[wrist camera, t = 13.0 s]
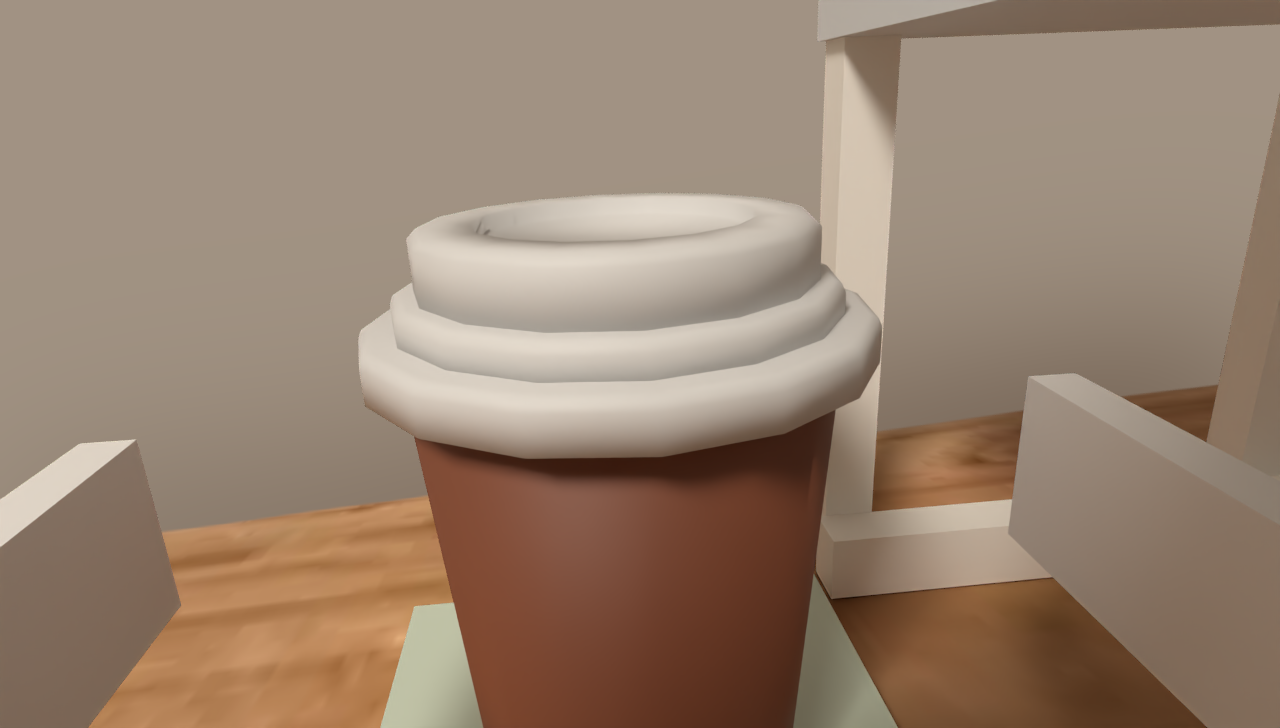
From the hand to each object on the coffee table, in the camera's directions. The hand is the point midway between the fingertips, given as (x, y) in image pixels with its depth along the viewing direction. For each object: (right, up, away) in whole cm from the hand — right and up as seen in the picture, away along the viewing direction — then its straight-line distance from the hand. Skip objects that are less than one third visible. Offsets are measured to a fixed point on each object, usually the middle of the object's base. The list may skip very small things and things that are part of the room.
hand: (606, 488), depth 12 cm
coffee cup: (+1, -7, +6) cm, 9 cm away
